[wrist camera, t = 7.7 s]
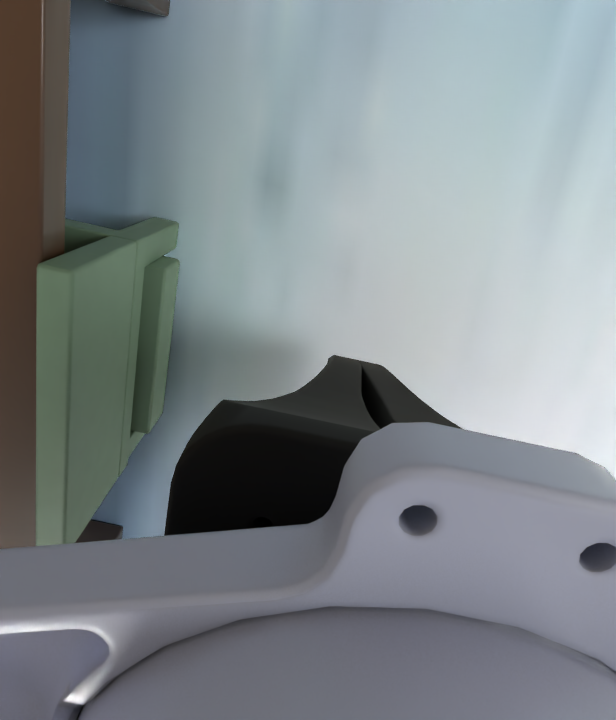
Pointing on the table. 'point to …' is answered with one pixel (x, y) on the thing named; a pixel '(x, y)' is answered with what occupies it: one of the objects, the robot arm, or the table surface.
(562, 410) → the table surface
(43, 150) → the desk
